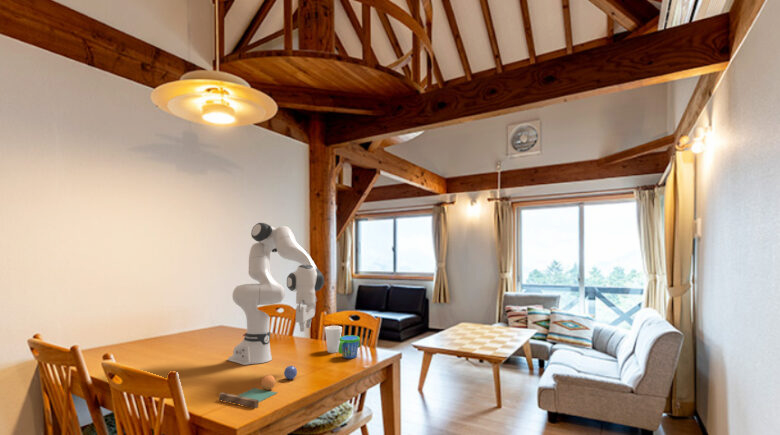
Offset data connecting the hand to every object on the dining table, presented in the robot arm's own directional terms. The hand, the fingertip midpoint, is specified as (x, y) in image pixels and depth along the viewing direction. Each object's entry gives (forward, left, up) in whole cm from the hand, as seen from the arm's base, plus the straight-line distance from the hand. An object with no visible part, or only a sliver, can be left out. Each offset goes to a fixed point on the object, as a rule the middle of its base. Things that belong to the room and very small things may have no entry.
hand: (305, 329), depth 183 cm
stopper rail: (0, -40, -20) cm, 45 cm away
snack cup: (+6, +31, -20) cm, 37 cm away
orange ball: (0, -24, -17) cm, 29 cm away
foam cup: (-8, +37, -20) cm, 43 cm away
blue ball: (0, -10, -17) cm, 20 cm away
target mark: (0, -32, -20) cm, 37 cm away
